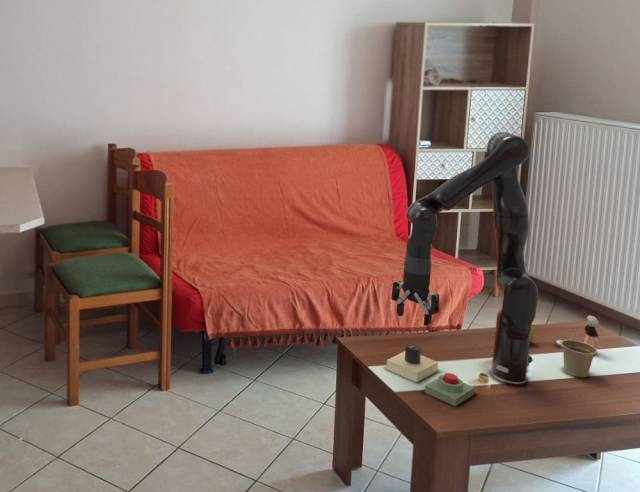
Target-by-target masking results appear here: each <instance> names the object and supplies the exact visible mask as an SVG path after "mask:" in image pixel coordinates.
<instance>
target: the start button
mask: <svg viewBox="0 0 640 492" xmlns="http://www.w3.org/2000/svg"><path fill="white" fill-rule="evenodd" d="M443 375H444V382H446V383H449V384H457V381H458V376H457V375H456V374H454V373H450V372H446V373H444V374H443Z"/></svg>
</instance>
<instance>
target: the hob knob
mask: <svg viewBox="0 0 640 492" xmlns="http://www.w3.org/2000/svg"><path fill="white" fill-rule="evenodd" d="M404 351H405V361H406V362H408V363H411V364H419V363H420V357H421V355H422V347H421V346H420V345H418V344H415V343H407V344H405V350H404Z"/></svg>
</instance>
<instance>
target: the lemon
mask: <svg viewBox="0 0 640 492" xmlns="http://www.w3.org/2000/svg"><path fill="white" fill-rule="evenodd" d="M534 337H535V328H534V325H533V324H532V326H531V335H530V342H531V341H532V340H533V339H534Z"/></svg>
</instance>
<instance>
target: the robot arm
mask: <svg viewBox="0 0 640 492" xmlns="http://www.w3.org/2000/svg"><path fill="white" fill-rule="evenodd" d="M530 152H531V148H530V145H529V143H528V141H527V140H525V138H522V137H521V136H519V135H516V134H513V133H509V132H505V131H500V132H496V133H494V134H492V135H491V136H490V138H489V139H488V140H487V144H486V155H487V157H485V158H484V159H483V160H481V161H480V162H478V163H477V164H475V165H474V166H472V167H470V168H468V169H466V170H464V171H461V172H459V173H458V174H456V175H454V176H452V177H450V178H448V180H446V181H445V182H444V183H442V184H441V185H440V186H438V187H437V188H436V189H435V190H434V191H432V192H430V193H428V194H426V195H424V196H422V197H420V198H418V199H417V200H415V201H414V202H412V204H410V206H408V208H407V210H406V218H407V220H408V221H409V223H410V224H411V225H412V226H411V233H410V235H409V236H408V237H407V240H406V249H405V257H404V263H403V275H402V276H403V277H402V279H403V280H402V281H401V280H396V281H394V282H393V283H392V289H391V296H390V297H391V300H392V301H394V302H396V314H397V316H398V317H402V316H404V314H405V303H404V302H406V301H407V300H408V301H409V302H413V303H415V304H418V305H419V306H420V308H422V310H423V312H424V315H423V326H425V327H428V326H430V325H431V324H432V320H433V319H432V318H433V315H436V314H438V313H440V294H439V293H437V292H436V293H434V292H430V285H431V275H432V273H431V272H432V251H433V250H432V249H433V241H434V238H435V235H436V231H437V228H438V216H437V214H439V213H441V212H443V211H446V212H447V211H451V210H452V209H454V208H456V207H457V206H458V205H459V204H461V203H462V202H463V201H464V200H465V199H467V198H468V197H470V196H471V195H472V194H473V193H475V192H476V191H477V190H479V189H481V188H482V187H483V186H485V185H487V184H488V183H490V182H491V193H492V195H491V196H492V212H493V213H492V214H493V226H494V236H495V246H496V255H497V258H496V259H497V261H496V277H495V278H496V280H495V281H496V282H495V283H496V287H497V290H498V291H499V293H500V294H501V295H502V297H503V298H502V305H501V309H500V310H498V311H497V313H496V319H495V330H494V331H495V332H494V340H493V341H494V344H493V352H492V353H493V354H492V363H491V370H490V374H491V376H492V377H493V379H495V380H497V381H499V382H501V383H503V384H507V385H511V386H524V385H526V384H527V381H528V379H527V375H528V366H529V357H530V356H529V355H530V345H531V341H530V335H531V326H532V325H533V323H534V321H535V318H536V314H537V309H538V308H537V307H538V299H539V289H538V286H537V284H536V282H535V281H534V280H533V279H532V278H531V277H529V275H528V274H527V269H526V265H525V264H526V263H525V248H526V243H527V241H528V238H529V235H530V218H529V217H530V215H529V213H530V212H529V206H528V203H527V199H526V197H525V194H524V192H523V188H522V186H521V184H520V180H519V176H518V166H520V165H522V164H523V163H524V162H525V161H527V159H528V158H529V156H530ZM401 290H402V291H403V293H402V294H401ZM400 294H401V295H400Z"/></svg>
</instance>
